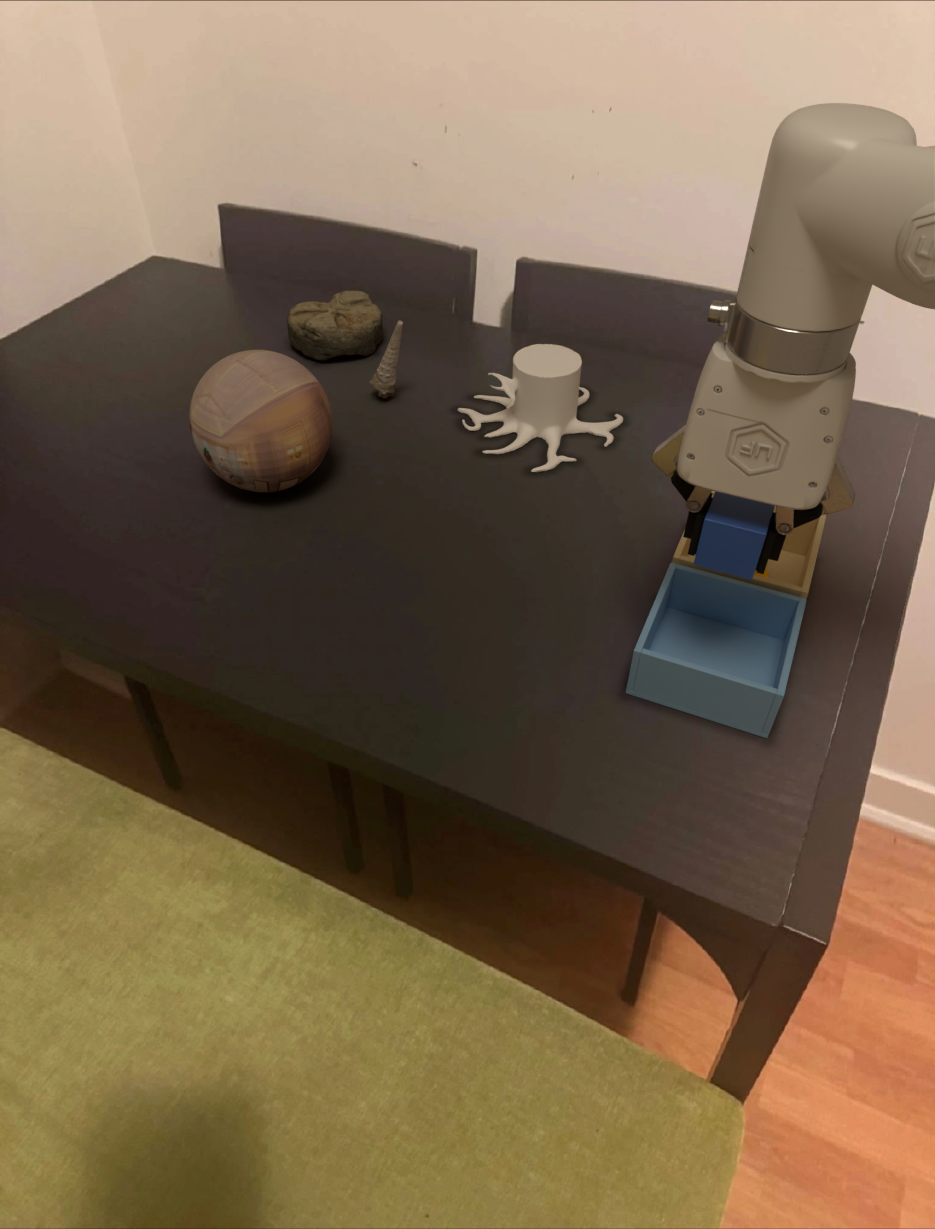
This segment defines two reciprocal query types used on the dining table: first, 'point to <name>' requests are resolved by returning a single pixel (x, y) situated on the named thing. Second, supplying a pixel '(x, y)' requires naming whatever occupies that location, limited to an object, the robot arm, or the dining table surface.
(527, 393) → the tree stump
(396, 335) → the seashell
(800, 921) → the dining table surface
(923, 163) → the robot arm
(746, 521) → the blue block
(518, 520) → the dining table surface
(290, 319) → the stone
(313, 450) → the ornament
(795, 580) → the cream bin
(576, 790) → the dining table surface
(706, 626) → the blue bin
